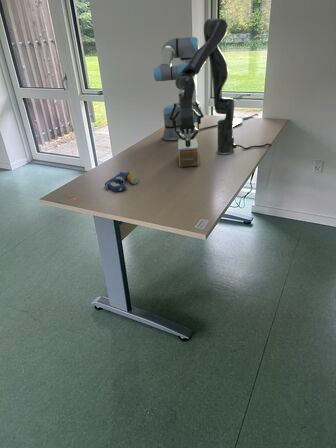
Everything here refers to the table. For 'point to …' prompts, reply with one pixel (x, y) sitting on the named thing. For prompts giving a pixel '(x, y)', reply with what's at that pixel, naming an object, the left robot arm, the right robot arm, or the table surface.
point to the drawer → (188, 157)
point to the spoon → (236, 121)
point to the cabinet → (183, 147)
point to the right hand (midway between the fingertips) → (188, 146)
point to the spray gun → (120, 181)
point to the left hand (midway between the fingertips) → (187, 130)
